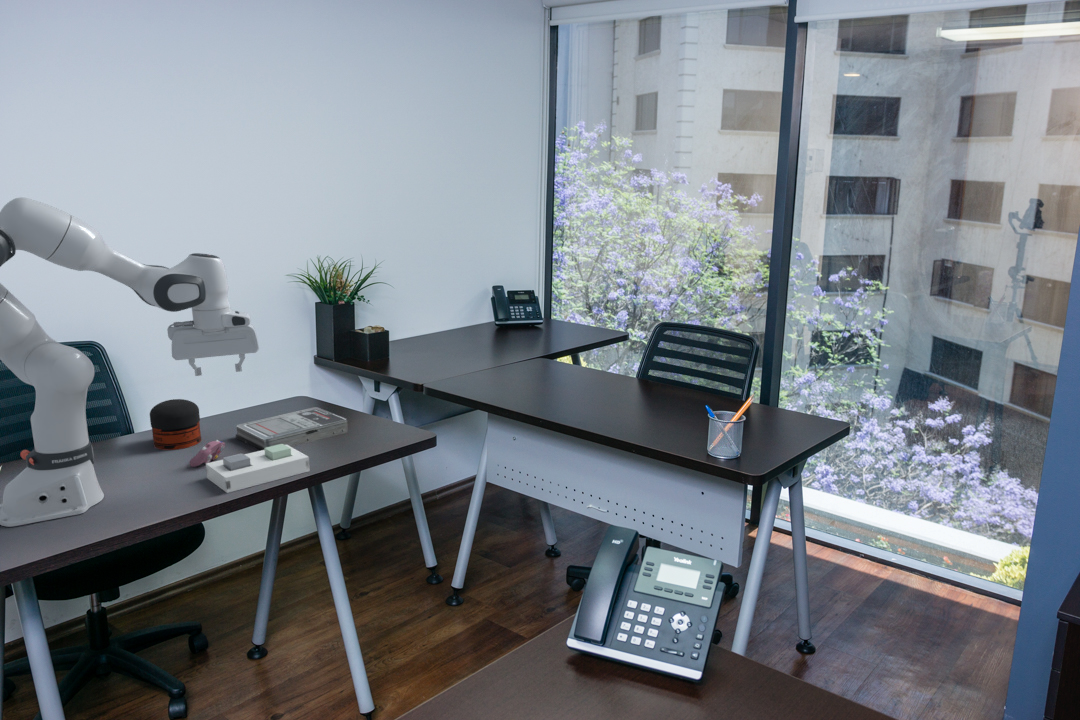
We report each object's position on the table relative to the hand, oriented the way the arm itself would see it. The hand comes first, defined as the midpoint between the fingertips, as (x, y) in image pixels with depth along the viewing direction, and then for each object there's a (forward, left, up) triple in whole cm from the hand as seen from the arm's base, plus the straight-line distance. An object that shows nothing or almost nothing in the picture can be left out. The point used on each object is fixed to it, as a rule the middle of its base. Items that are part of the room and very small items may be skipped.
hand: (218, 373), depth 202 cm
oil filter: (0, +37, -28) cm, 46 cm away
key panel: (+7, -3, -28) cm, 29 cm away
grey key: (+1, -3, -25) cm, 25 cm away
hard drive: (+28, +21, -29) cm, 45 cm away
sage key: (+12, -3, -25) cm, 28 cm away
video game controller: (+1, +15, -28) cm, 32 cm away
